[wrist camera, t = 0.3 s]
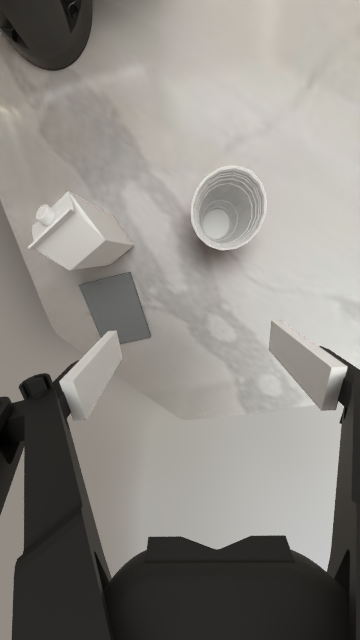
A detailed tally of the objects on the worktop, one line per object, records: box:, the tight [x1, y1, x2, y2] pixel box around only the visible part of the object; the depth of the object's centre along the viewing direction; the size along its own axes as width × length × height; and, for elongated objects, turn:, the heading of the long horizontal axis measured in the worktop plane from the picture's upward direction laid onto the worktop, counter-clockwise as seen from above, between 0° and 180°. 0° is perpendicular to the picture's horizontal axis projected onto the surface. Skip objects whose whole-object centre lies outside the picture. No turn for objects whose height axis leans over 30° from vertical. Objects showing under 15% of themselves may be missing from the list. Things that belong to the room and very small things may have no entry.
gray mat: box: [79, 272, 151, 344], centre depth 44 cm, size 16×12×1 cm
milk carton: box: [28, 191, 134, 271], centre depth 30 cm, size 7×7×19 cm
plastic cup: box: [191, 165, 267, 250], centre depth 32 cm, size 11×11×12 cm
